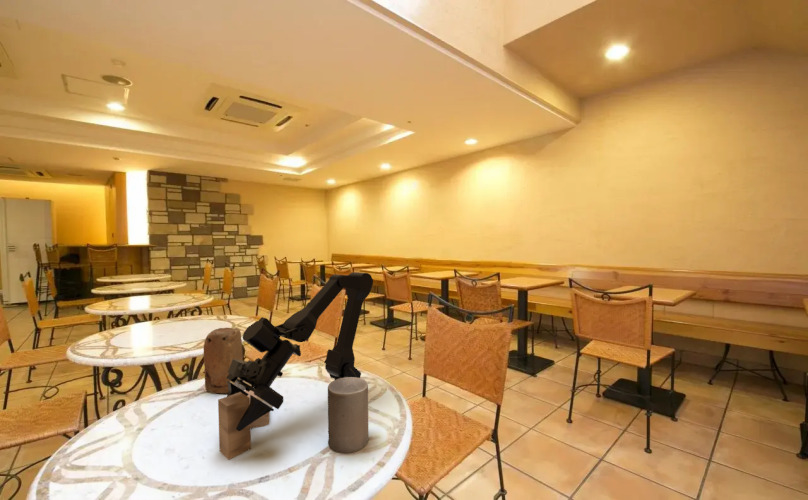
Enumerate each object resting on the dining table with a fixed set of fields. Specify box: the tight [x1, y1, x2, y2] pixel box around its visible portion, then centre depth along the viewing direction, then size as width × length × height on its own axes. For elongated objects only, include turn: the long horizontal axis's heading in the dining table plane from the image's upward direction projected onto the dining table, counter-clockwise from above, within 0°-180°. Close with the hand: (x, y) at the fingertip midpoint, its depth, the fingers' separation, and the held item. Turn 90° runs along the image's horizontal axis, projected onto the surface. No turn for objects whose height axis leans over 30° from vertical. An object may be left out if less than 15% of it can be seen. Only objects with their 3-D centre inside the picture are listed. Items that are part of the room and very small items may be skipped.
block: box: [203, 327, 244, 394], centre depth 111 cm, size 11×8×20 cm
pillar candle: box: [327, 377, 369, 454], centre depth 80 cm, size 10×10×15 cm
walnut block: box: [217, 392, 252, 460], centre depth 78 cm, size 5×5×12 cm
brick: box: [244, 390, 270, 429], centre depth 95 cm, size 17×8×5 cm, turn 23°
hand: (228, 423), depth 77 cm, fingers open, 9 cm apart
